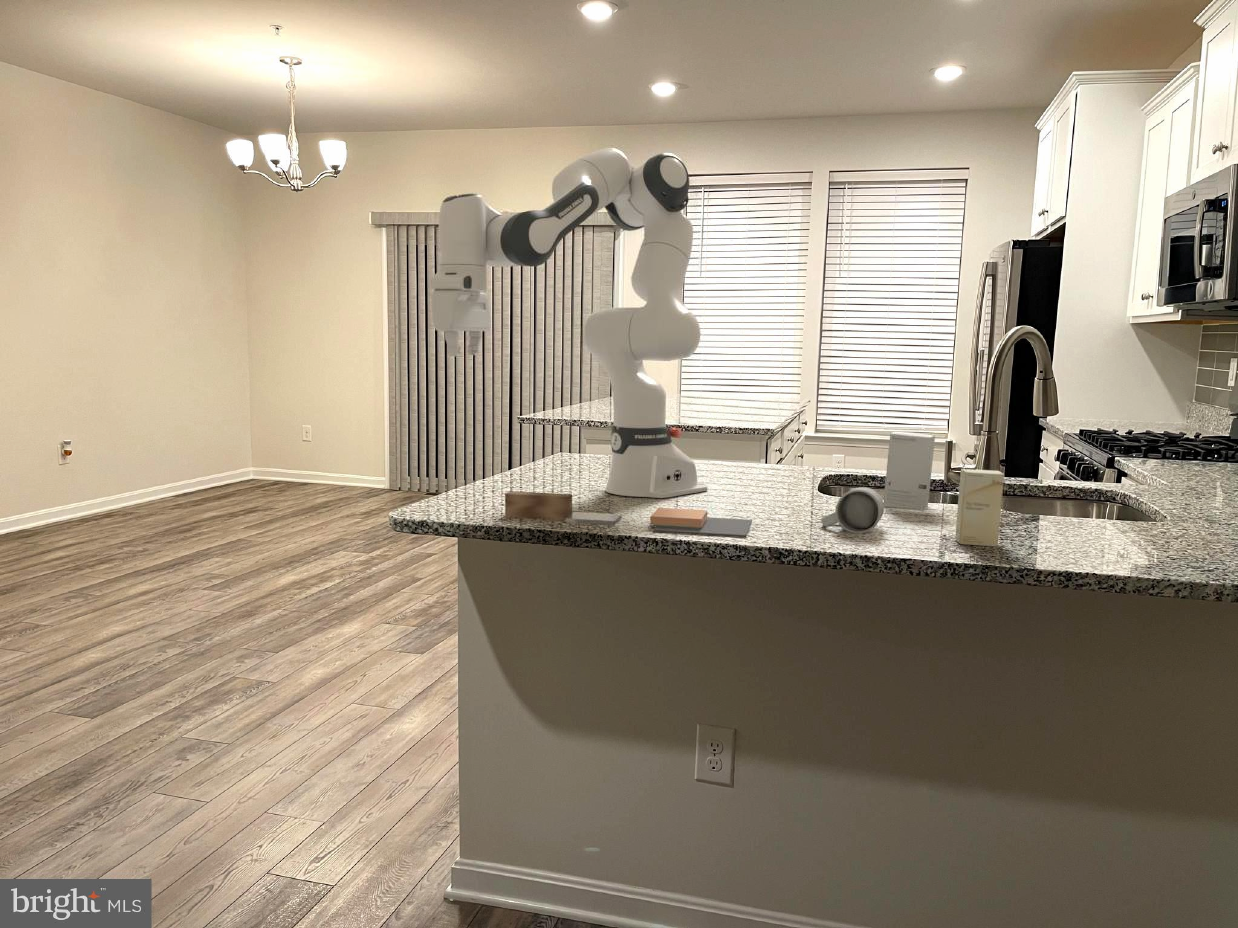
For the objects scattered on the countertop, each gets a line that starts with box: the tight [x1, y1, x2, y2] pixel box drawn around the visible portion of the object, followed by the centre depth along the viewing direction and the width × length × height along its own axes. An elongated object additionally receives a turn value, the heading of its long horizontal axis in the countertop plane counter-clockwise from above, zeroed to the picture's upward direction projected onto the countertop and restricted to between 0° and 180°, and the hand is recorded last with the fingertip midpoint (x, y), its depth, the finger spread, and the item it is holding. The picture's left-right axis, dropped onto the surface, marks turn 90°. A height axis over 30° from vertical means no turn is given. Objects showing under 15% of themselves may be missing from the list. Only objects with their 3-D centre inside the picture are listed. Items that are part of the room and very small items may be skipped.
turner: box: [504, 490, 623, 526], centre depth 165 cm, size 21×6×4 cm, turn 78°
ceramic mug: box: [820, 486, 885, 535], centre depth 160 cm, size 11×8×8 cm
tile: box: [649, 507, 708, 529], centre depth 161 cm, size 2×8×9 cm
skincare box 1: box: [883, 431, 936, 511], centre depth 180 cm, size 8×6×15 cm
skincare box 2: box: [954, 468, 1005, 547], centre depth 150 cm, size 6×4×12 cm
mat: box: [652, 516, 753, 538], centre depth 160 cm, size 16×13×1 cm
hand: (464, 355), depth 173 cm, fingers open, 8 cm apart
